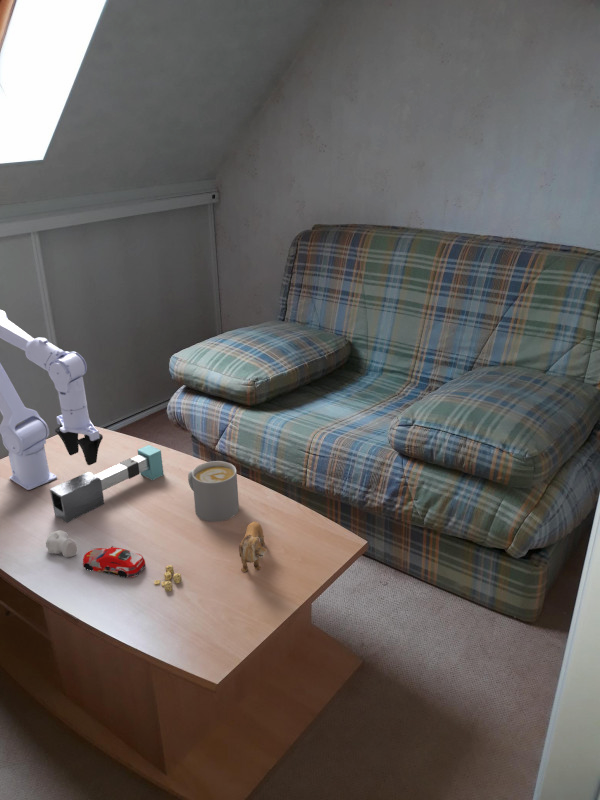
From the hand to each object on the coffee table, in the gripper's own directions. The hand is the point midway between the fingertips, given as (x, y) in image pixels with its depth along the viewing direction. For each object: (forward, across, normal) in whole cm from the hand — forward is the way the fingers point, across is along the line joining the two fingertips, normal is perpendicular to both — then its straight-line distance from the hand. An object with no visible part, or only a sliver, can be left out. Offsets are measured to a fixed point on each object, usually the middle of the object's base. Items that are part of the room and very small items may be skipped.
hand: (82, 458), depth 156 cm
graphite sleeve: (+9, +5, -6) cm, 12 cm away
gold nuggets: (+10, +41, -9) cm, 43 cm away
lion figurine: (+10, +50, +7) cm, 51 cm away
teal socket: (+9, +5, +15) cm, 19 cm away
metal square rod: (+7, +5, +5) cm, 10 cm away
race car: (+10, +29, -13) cm, 33 cm away
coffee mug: (+10, +28, +15) cm, 33 cm away
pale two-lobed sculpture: (+10, +16, -17) cm, 25 cm away
